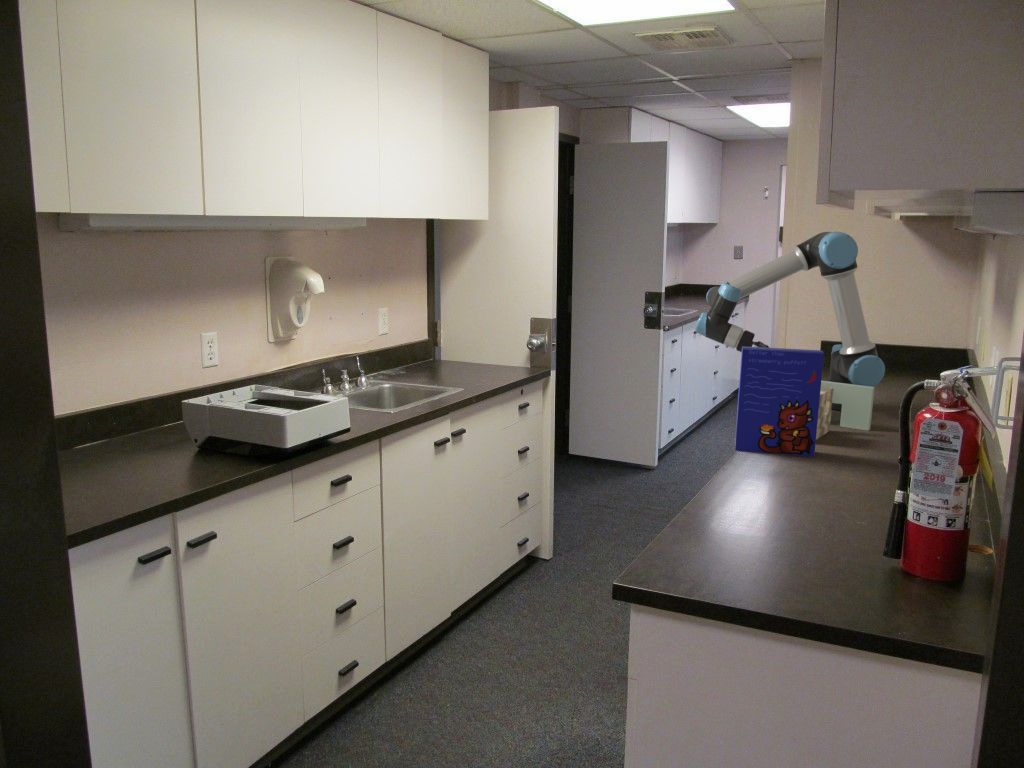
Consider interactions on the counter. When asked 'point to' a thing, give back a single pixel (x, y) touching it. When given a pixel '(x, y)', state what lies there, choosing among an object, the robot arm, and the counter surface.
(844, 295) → the robot arm
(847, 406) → the sage board
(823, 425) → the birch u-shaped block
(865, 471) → the counter surface
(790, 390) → the cereal box
